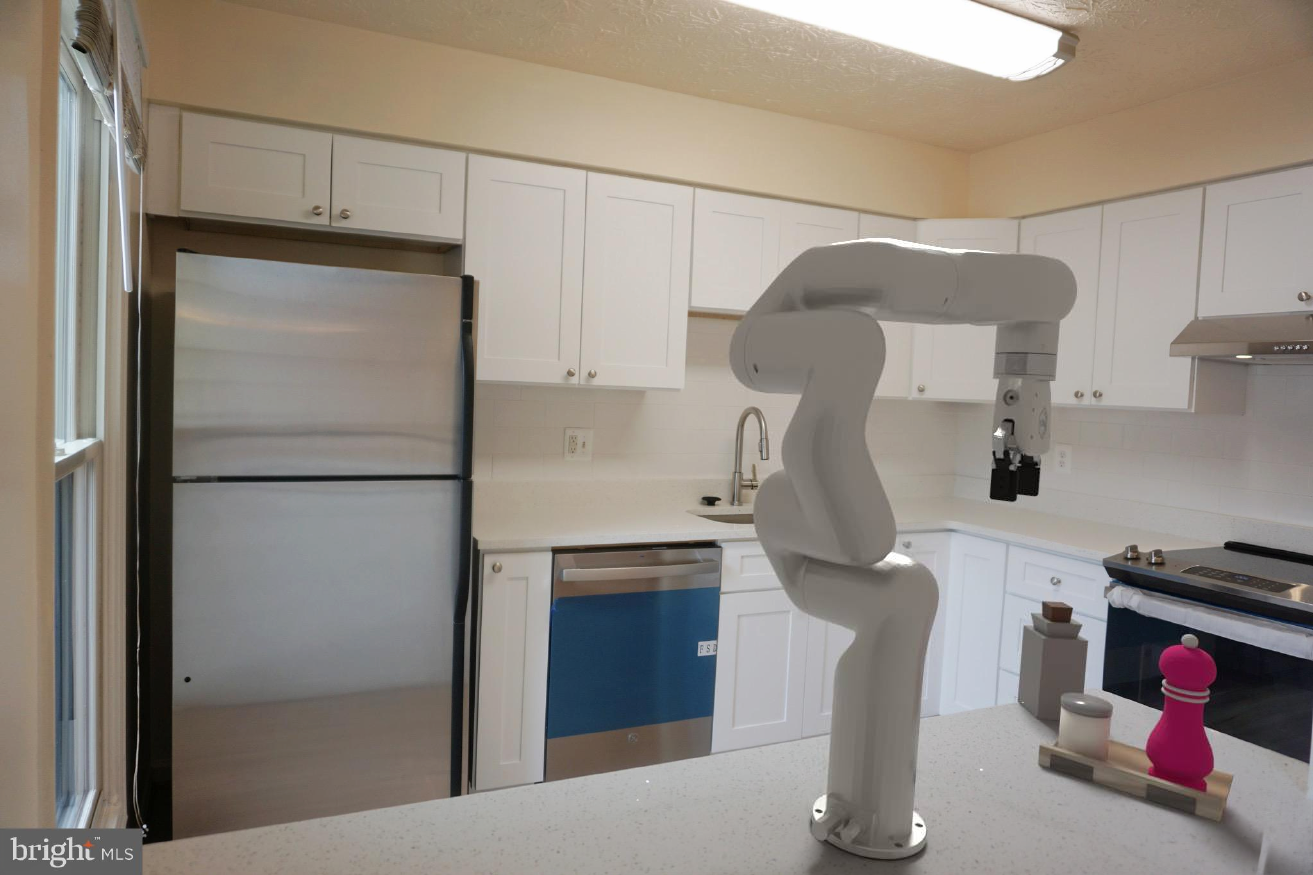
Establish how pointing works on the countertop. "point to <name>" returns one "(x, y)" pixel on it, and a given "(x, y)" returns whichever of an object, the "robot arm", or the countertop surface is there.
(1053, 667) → the perfume bottle
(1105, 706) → the jar
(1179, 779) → the pepper mill
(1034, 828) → the countertop surface
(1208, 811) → the shelf
